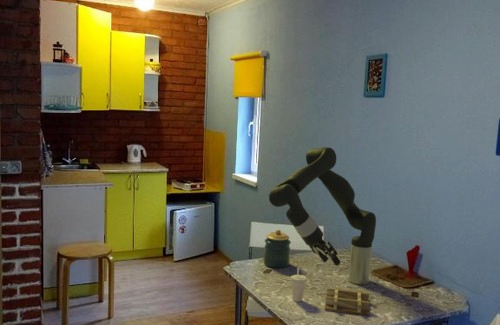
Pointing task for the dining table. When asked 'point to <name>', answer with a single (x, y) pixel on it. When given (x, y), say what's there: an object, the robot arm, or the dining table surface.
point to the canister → (277, 250)
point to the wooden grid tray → (347, 301)
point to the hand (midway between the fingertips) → (332, 262)
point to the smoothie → (298, 286)
